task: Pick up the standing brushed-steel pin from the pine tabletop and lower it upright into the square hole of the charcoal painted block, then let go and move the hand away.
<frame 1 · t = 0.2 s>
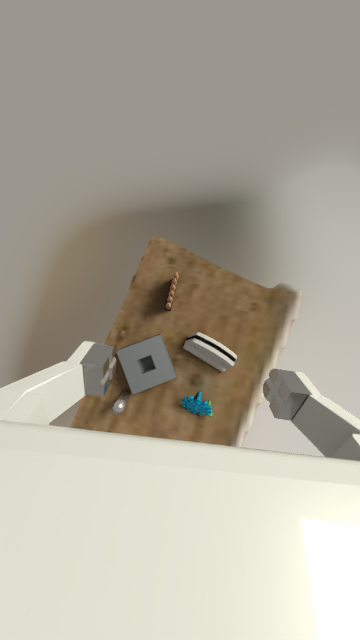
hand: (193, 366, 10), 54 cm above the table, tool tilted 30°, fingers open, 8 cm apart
steel pin: (125, 394, 62), on the table
pin block: (148, 360, 63), on the table
gear: (196, 401, 64), on the table
ammunition clip: (171, 294, 64), on the table
hinge: (207, 350, 65), on the table
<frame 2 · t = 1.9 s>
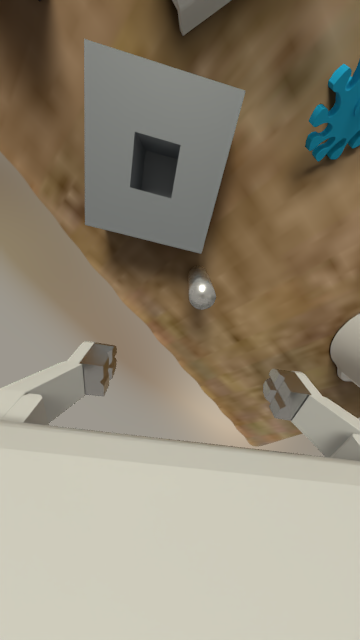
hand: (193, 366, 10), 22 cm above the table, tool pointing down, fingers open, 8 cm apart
steel pin: (198, 275, 30), on the table
pin block: (161, 179, 24), on the table
gear: (339, 116, 22), on the table
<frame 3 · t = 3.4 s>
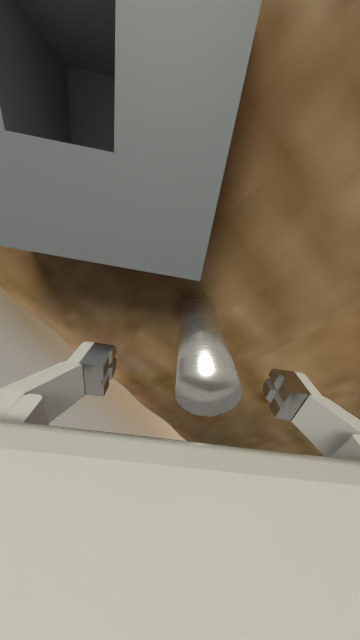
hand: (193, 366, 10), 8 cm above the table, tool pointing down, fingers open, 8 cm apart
steel pin: (197, 308, 17), on the table
pin block: (111, 134, 12), on the table
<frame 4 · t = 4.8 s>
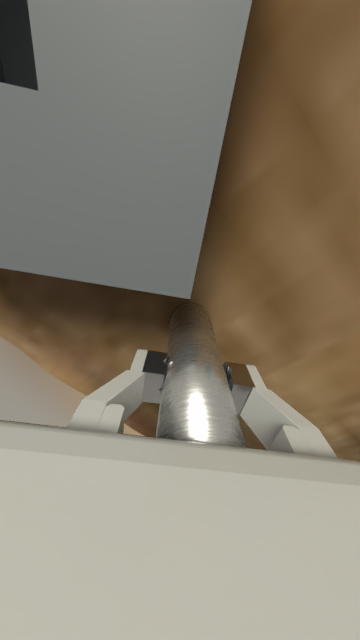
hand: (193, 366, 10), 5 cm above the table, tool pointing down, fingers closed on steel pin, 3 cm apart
steel pin: (190, 321, 14), on the table, touching gripper
pin block: (67, 90, 9), on the table
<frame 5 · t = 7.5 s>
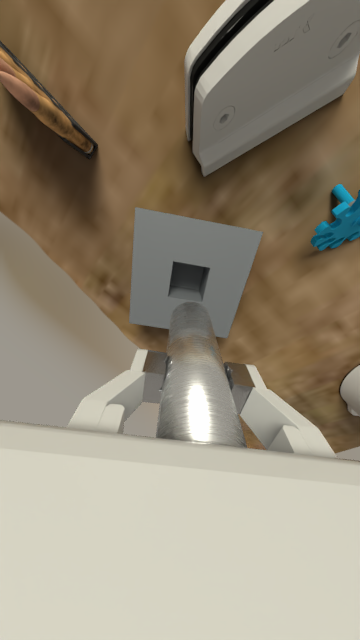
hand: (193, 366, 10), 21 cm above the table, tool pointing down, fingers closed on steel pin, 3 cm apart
steel pin: (190, 319, 14), point 16 cm above the table, touching gripper
pin block: (187, 271, 29), on the table
gear: (339, 215, 25), on the table
ammunition clip: (53, 110, 21), on the table
hinge: (257, 97, 20), on the table
when the fingers open (7 cm above the table, at t = 10.2 s): steel pin stays where it is, resting on pin block.
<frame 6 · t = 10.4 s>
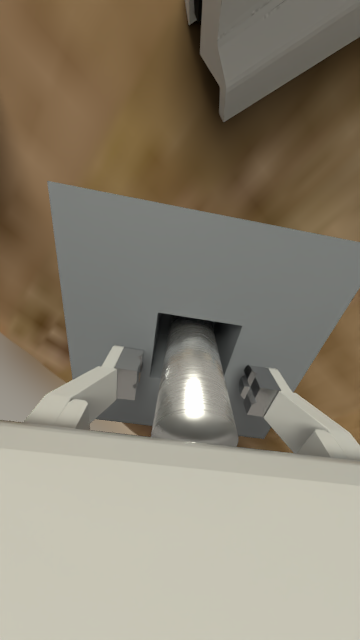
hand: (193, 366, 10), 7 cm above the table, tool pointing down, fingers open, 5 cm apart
steel pin: (190, 314, 15), point 1 cm above the table, touching pin block
pin block: (189, 310, 16), on the table
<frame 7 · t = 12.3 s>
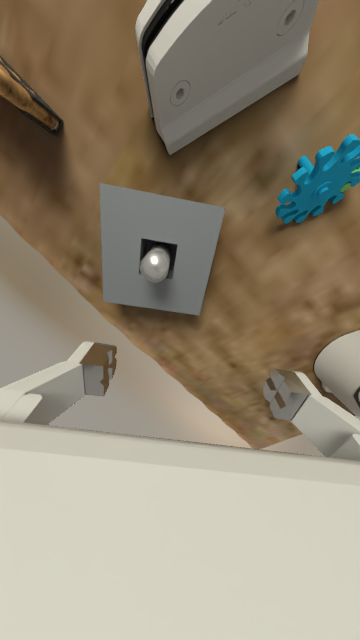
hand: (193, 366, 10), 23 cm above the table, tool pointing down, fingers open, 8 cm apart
steel pin: (161, 252, 29), point 1 cm above the table, touching pin block
pin block: (161, 252, 29), on the table
gear: (304, 189, 26), on the table
ammunition clip: (16, 84, 21), on the table
hinge: (217, 75, 21), on the table
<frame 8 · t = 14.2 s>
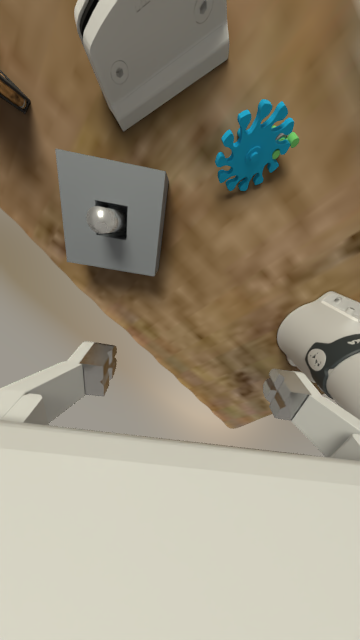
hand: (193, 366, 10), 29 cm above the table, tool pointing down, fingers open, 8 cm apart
steel pin: (122, 221, 32), point 1 cm above the table, touching pin block
pin block: (123, 221, 33), on the table
gear: (247, 160, 29), on the table
hinge: (159, 60, 24), on the table
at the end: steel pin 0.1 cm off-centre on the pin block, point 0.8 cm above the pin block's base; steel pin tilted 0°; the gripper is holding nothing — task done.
